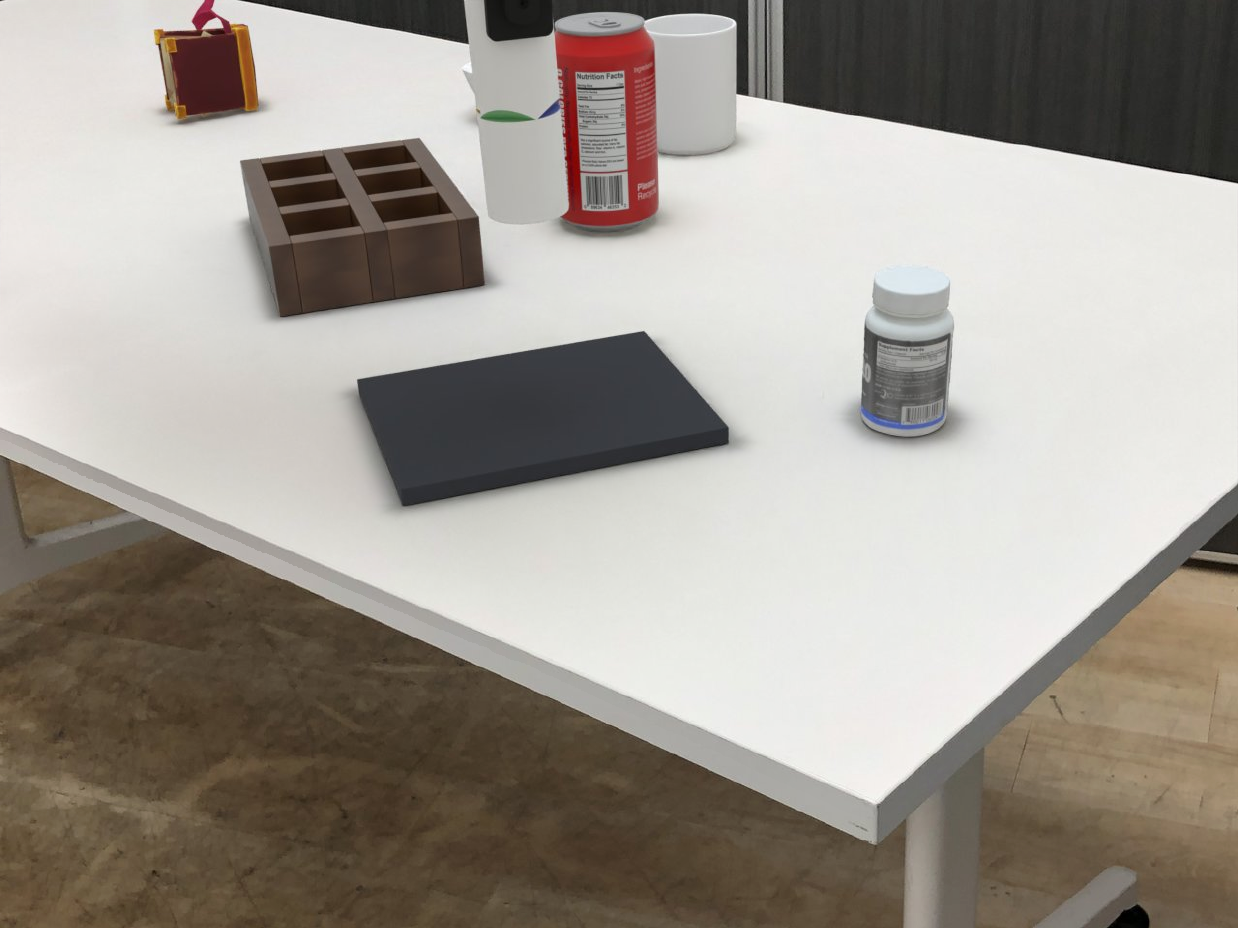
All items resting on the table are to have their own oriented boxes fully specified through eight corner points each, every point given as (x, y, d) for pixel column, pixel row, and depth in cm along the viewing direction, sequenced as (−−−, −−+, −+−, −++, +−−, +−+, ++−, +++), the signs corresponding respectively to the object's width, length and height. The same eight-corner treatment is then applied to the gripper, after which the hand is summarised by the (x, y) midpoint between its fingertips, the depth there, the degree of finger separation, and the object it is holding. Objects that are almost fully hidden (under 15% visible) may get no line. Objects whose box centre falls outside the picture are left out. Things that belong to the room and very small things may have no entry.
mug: (633, 170, 121) (629, 46, 116) (589, 146, 128) (583, 28, 123) (754, 146, 126) (755, 26, 121) (705, 124, 132) (704, 9, 127)
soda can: (589, 245, 106) (578, 38, 99) (539, 216, 112) (525, 19, 105) (678, 223, 109) (675, 21, 102) (625, 196, 115) (618, 4, 108)
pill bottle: (870, 395, 83) (877, 257, 79) (953, 406, 81) (964, 266, 77) (850, 432, 79) (857, 289, 75) (937, 444, 77) (948, 299, 73)
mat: (402, 506, 74) (400, 489, 73) (358, 394, 85) (356, 378, 85) (729, 443, 78) (729, 427, 78) (644, 345, 90) (644, 330, 90)
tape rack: (280, 317, 96) (268, 246, 94) (250, 222, 113) (239, 160, 111) (485, 285, 100) (479, 216, 97) (426, 198, 117) (419, 137, 114)
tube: (475, 207, 77) (441, -89, 70) (547, 191, 79) (522, -100, 71) (507, 230, 74) (475, -78, 66) (582, 213, 75) (558, -91, 68)
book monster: (167, 125, 138) (166, 101, 149) (263, 117, 140) (255, 94, 151) (148, 10, 134) (149, -6, 144) (247, 3, 136) (241, -12, 146)
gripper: (358, -391, 69) (401, 4, 77) (430, -411, 54) (472, 74, 63) (511, -395, 70) (535, -10, 79) (618, -416, 56) (633, 55, 65)
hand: (507, 23), depth 71 cm, fingers closed on tube, 4 cm apart
